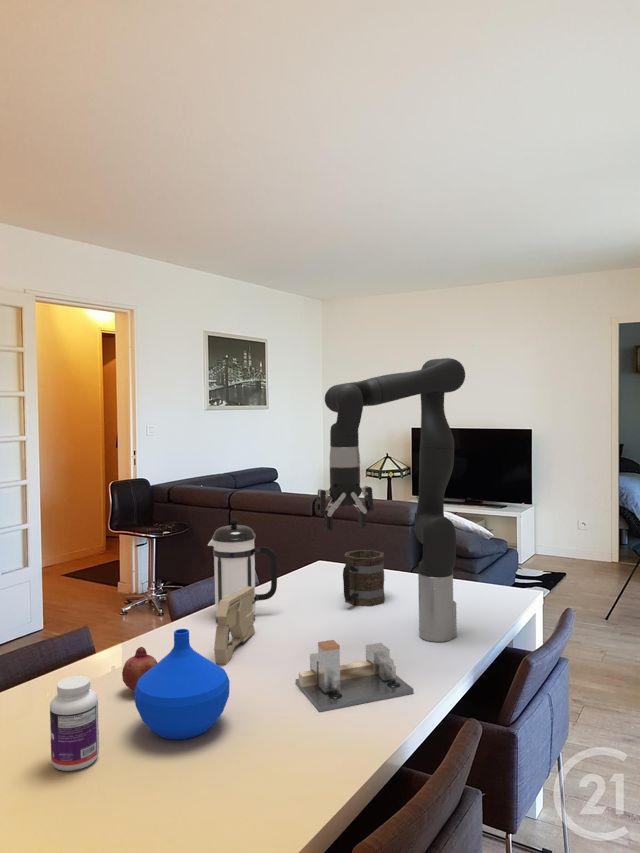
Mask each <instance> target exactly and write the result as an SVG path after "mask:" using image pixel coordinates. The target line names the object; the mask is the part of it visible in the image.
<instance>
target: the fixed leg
mask: <svg viewBox="0 0 640 853" xmlns="http://www.w3.org/2000/svg"><path fill="white" fill-rule="evenodd" d="M365 661H370V662H371V663H372V664H373V671H379V677H381V678H382V679H383V680H390V679H392V684H396V675H397V674H396V672H397V666H396V665H394V659H392V658H391V657H390V648H389V647H387V646H386V645H384V644H383V643H382V642H378V643H371V644H366V645H365Z"/></svg>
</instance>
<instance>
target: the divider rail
mask: <svg viewBox="0 0 640 853" xmlns="http://www.w3.org/2000/svg"><path fill="white" fill-rule="evenodd" d="M374 674H379V671H373V664H372V663H371V662H370V661H366V660H364V661H358V662H353V663H347V664H340V681H341V680H346V679H352V678H357V677H363V676H368V675H374ZM298 679H299V684H300V685H301V686H302V687H307V686H313V685H318V684H319V681H318V682H317V681H316V673H315V672H314V671H313V670H311V671H310V670H307V671H299V672H298Z"/></svg>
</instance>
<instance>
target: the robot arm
mask: <svg viewBox="0 0 640 853" xmlns="http://www.w3.org/2000/svg"><path fill="white" fill-rule="evenodd" d="M465 380H466V370H465V367H464V365H463V364H462V363H461V362H460V361H459V360H457V359H455V358H450V357H446V358H445V357H444V358H435V359H429V360H427V361H425V362H424V364H423V365H422V367H421V369H418V370H413V371H406V372H398V373H396V372H395V373H390V374H384V375H379V376H375V377H370V378H367V379H363V380H360V381H353V382H346V383H340V384H334V385H332V386H331V387H329V388H328V390H327V391H326V392H325V395H324V403H325V405H326V407H327V408H328V409H329V410H330V411H332V412H334V413H337V415H336V416H337V417H336V422H335V423H333V424H332V425H331V427H330V431H329V433H330V434H329V436H330V439H329V440H330V441H329V442H330V443H329V445H330V451H329V484H330V485H329V488H328V489H321V488H320V489H318V490H317V499H316V500H317V501H316V502H317V503H316V513H317V514H319V515H323V516H324V528H325V529H326V530H327V532H329V533H331V532H332V533H333V532H334V520H333V514H334V513H335V511H336V510H337V509H338V508H339V507H345V506H354V507H355V509H356V510H357V511H358V513H357V521H358V522H357V523H358V524H357V525H358V526H357V527H358V528H359V529H360V530H364V529H365V527H366V526H367V513H368V512H370V511H371V512H372V511H374V499H373V498H374V496H373V488H372V487H371V486H368V485H365V486H363V487H361V455H360V447H359V445H360V444H359V428H360V424H361V420H362V414H363V410H364V407H371V406H379V405H382V404H387V403H391V402H395V401H399V400H402V399H406V398H409V397H413V396H418V395H420V407H421V409H420V410H421V411H420V412H421V413H420V418H421V419H420V443H419V472H418V499H417V507H416V513H415V519H414V528H413V530H414V535H415V537H416V538H417V540H418V541H419V542H420V543H421V544H422V559H421V560H420V561H419V562H418V572H417V573H418V575H417V576H418V635H419V637H420V638H421V639H423V640H425V641H428V642H434V643H435V642H436V643H437V642H438V643H441V642H448V641H451V640H453V639H454V638H457V635H458V634H457V633H458V632H457V628H458V627H457V621H458V620H457V602H456V601H455V600H454V567H455V565H456V561H457V560H456V559H457V558H456V556H457V554H456V553H457V534H456V532H457V531H456V527H455V525H454V523H453V522H452V520H450V518H448V517H445V514H444V512H445V511H444V509H445V507H444V506H445V505H444V504H445V503H444V501H445V492H446V489H447V486H448V484H449V481H450V478H451V476H452V472H453V470H454V469H453V468H454V463H455V438H454V435H453V433H452V430H451V427H450V425H449V423H448V419H447V416H446V413H445V412H446V411H445V394H446V393H453V392H455V391H457V390H459V389H460V388H461V387H462V385H463V384H464V383H465ZM361 494H362V496H363V500H364V503H363V502H362V501H361V499H360V496H361ZM329 496H330V498H331V499H330V500H329V502H328V504H327V507H326V502H327V501H326V500H327V499H328V497H329ZM363 504H364V505H363Z"/></svg>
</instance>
